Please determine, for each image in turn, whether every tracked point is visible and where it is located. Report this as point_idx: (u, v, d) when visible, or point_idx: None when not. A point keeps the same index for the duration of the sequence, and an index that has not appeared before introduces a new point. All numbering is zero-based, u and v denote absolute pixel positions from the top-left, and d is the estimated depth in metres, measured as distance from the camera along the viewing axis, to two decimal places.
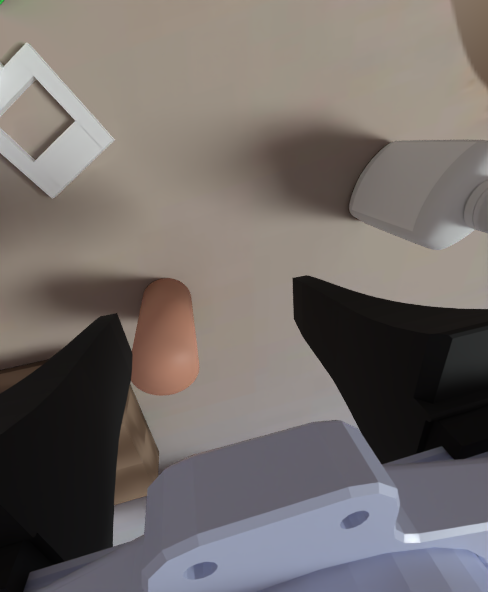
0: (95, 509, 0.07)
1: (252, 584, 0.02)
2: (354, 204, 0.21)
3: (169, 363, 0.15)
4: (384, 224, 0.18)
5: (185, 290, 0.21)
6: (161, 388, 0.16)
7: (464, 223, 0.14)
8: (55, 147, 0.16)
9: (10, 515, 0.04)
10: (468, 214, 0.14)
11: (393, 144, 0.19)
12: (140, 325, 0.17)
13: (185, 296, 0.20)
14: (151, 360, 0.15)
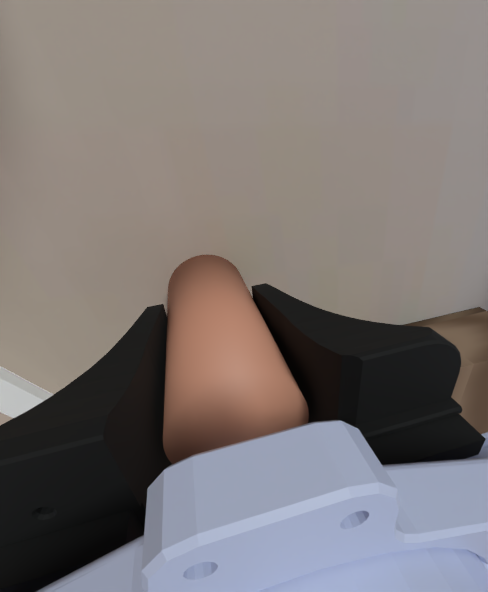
0: None
1: (252, 584, 0.02)
2: None
3: (224, 428, 0.07)
4: None
5: (181, 271, 0.12)
6: None
7: None
8: None
9: (126, 482, 0.05)
10: None
11: None
12: None
13: (181, 281, 0.11)
14: None
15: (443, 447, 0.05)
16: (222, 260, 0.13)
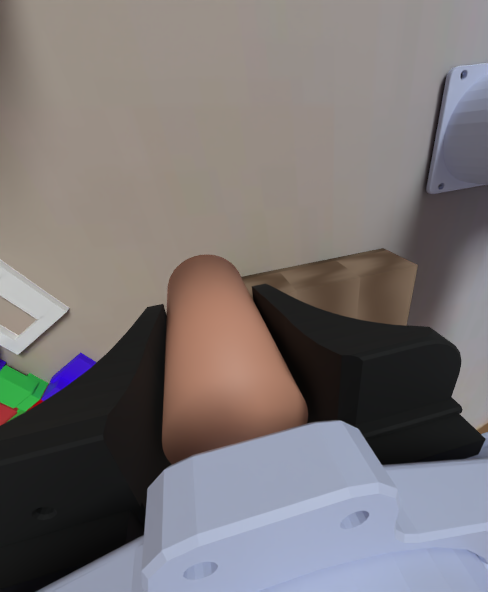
0: None
1: (252, 584, 0.02)
2: None
3: (222, 427, 0.07)
4: None
5: (181, 271, 0.12)
6: None
7: None
8: (20, 304, 0.20)
9: (126, 483, 0.05)
10: None
11: None
12: None
13: (181, 281, 0.11)
14: None
15: (443, 447, 0.05)
16: (221, 260, 0.13)
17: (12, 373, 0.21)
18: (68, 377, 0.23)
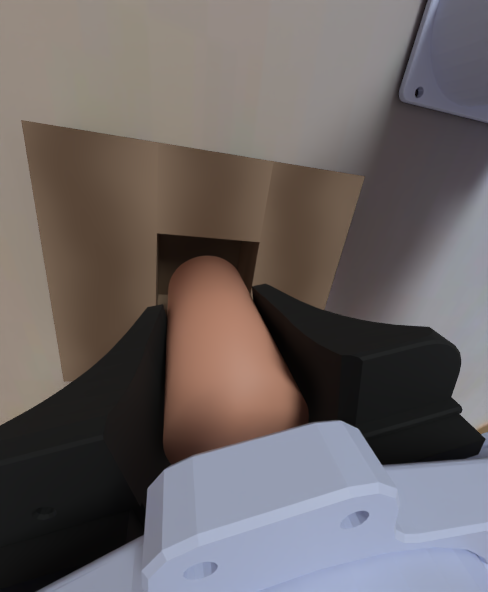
0: None
1: (252, 584, 0.02)
2: None
3: (223, 429, 0.07)
4: None
5: (181, 272, 0.12)
6: None
7: None
8: None
9: (126, 483, 0.05)
10: None
11: None
12: None
13: (181, 283, 0.11)
14: None
15: (443, 447, 0.05)
16: (222, 261, 0.13)
17: None
18: None
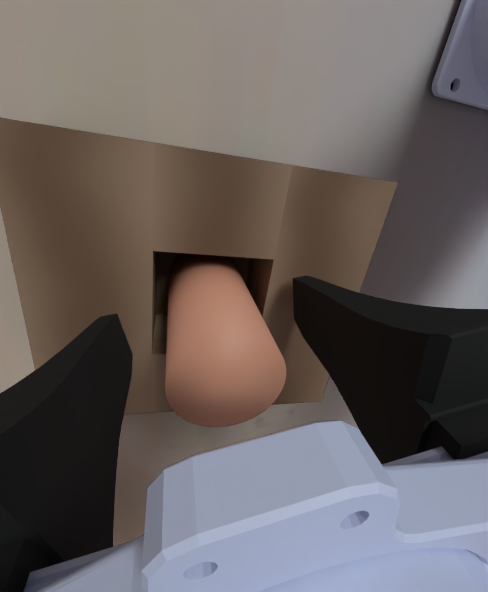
0: (95, 509, 0.07)
1: (252, 584, 0.02)
2: None
3: (215, 379, 0.08)
4: None
5: (180, 258, 0.14)
6: (268, 386, 0.09)
7: None
8: None
9: (9, 515, 0.04)
10: None
11: None
12: None
13: (181, 267, 0.13)
14: (204, 402, 0.09)
15: None
16: None
17: None
18: None
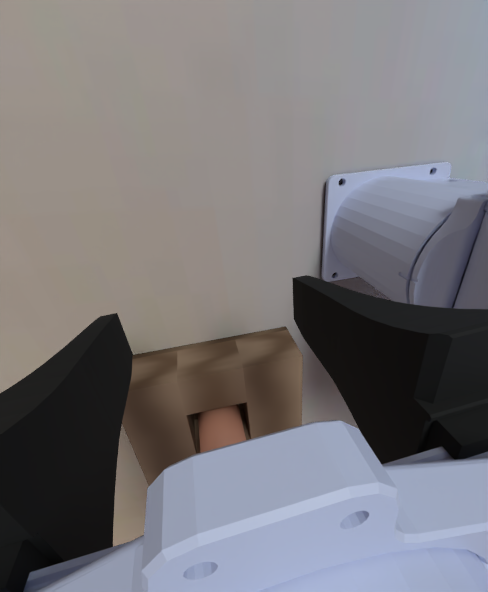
0: (95, 509, 0.07)
1: (252, 584, 0.02)
2: None
3: None
4: None
5: None
6: None
7: None
8: None
9: (9, 515, 0.04)
10: None
11: None
12: None
13: None
14: None
15: None
16: None
17: None
18: None
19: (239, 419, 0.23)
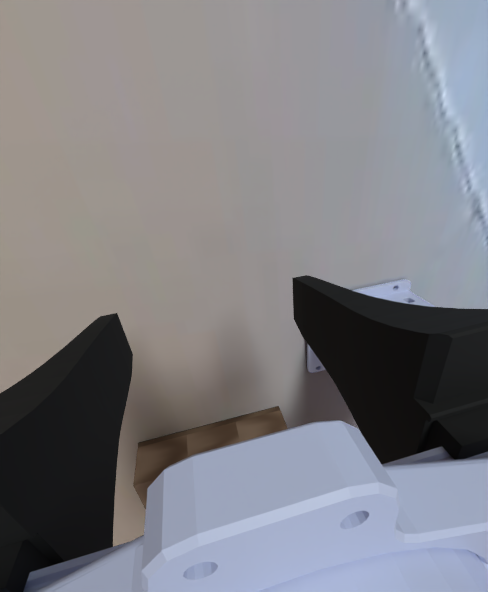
0: (95, 509, 0.07)
1: (252, 584, 0.02)
2: None
3: None
4: None
5: None
6: None
7: None
8: None
9: (9, 515, 0.04)
10: None
11: None
12: None
13: None
14: None
15: None
16: None
17: None
18: None
19: None
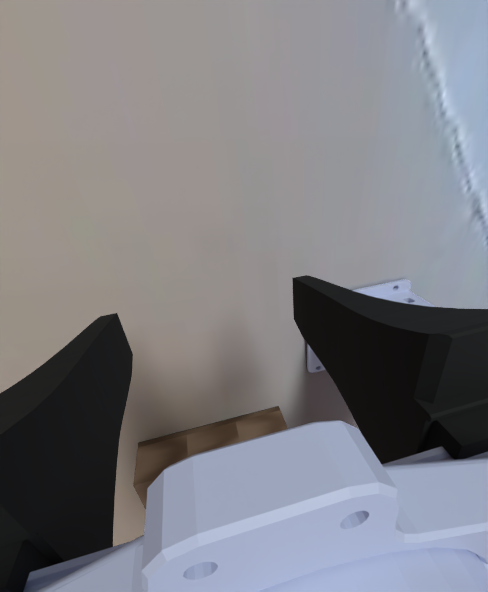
0: (95, 509, 0.07)
1: (252, 584, 0.02)
2: None
3: None
4: None
5: None
6: None
7: None
8: None
9: (9, 515, 0.04)
10: None
11: None
12: None
13: None
14: None
15: None
16: None
17: None
18: None
19: None
